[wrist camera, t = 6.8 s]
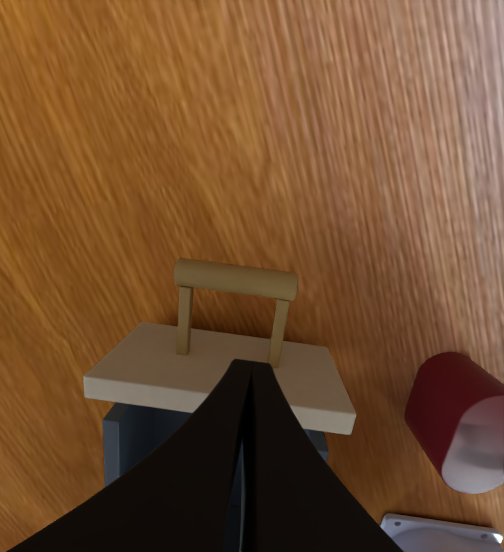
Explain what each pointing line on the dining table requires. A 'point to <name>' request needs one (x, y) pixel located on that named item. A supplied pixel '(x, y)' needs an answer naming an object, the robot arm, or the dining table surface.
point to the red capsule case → (459, 422)
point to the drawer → (210, 374)
